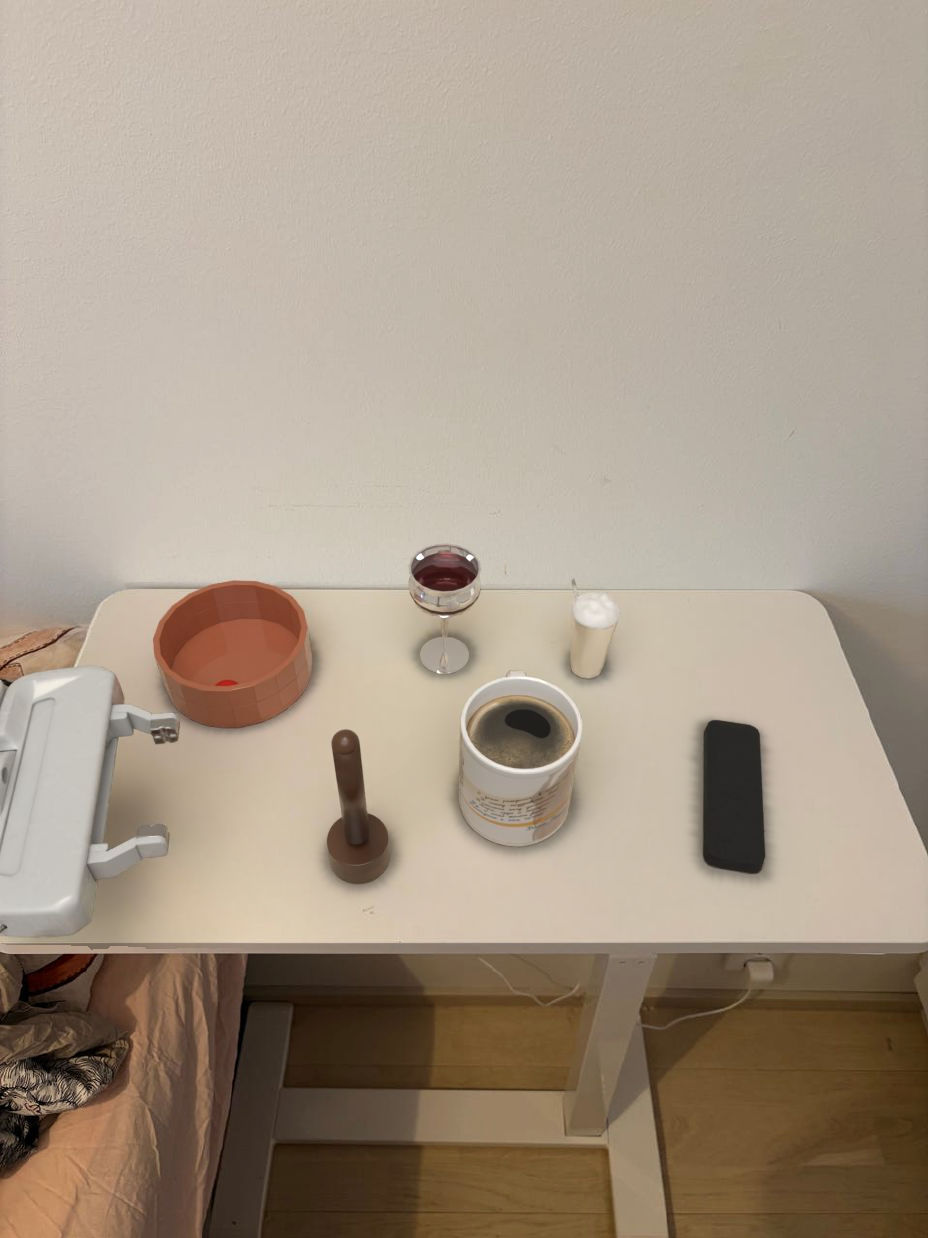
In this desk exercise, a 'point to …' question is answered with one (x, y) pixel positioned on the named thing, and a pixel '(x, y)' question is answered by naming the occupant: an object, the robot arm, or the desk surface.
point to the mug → (518, 759)
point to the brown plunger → (355, 819)
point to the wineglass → (444, 598)
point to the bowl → (234, 653)
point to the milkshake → (591, 631)
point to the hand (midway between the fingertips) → (173, 780)
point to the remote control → (733, 797)
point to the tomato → (226, 683)
